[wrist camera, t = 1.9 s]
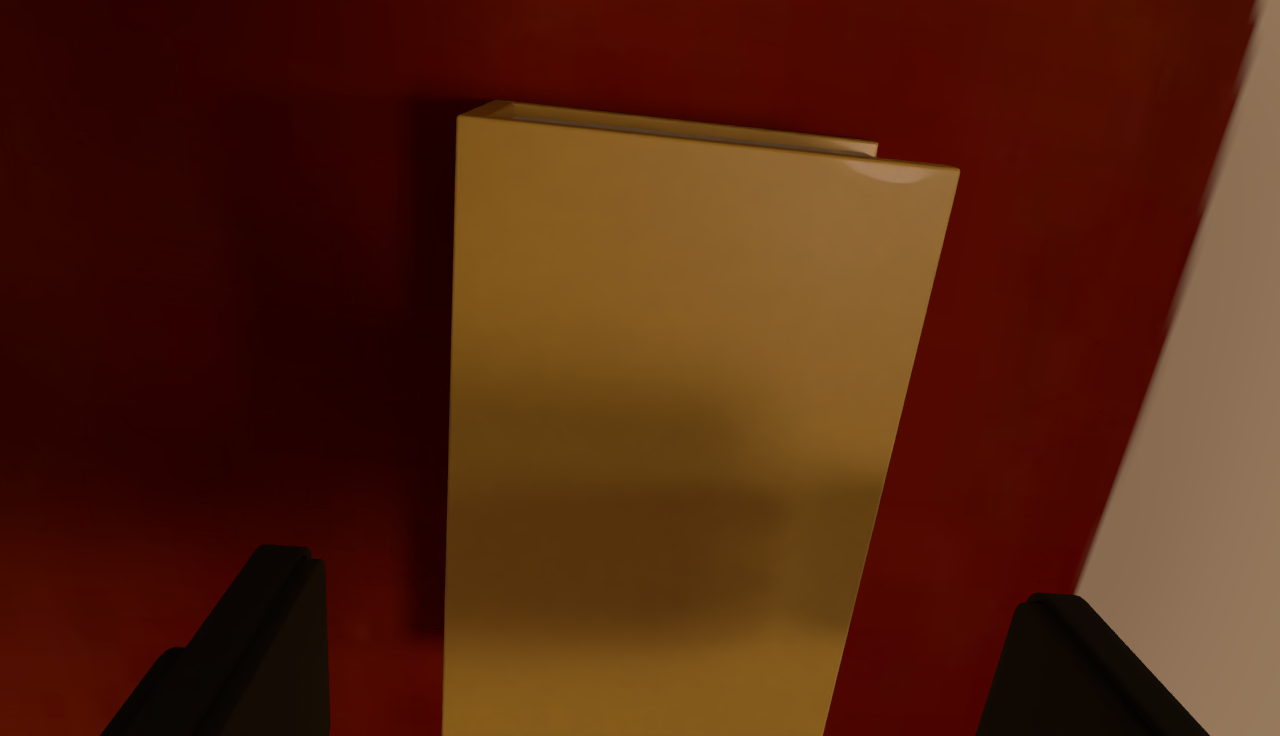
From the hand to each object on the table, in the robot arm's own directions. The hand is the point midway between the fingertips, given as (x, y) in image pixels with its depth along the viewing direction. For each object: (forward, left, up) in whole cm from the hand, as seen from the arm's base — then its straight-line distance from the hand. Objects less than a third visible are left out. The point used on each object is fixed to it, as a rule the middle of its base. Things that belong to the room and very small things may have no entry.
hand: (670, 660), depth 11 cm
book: (-1, 0, -7) cm, 7 cm away
